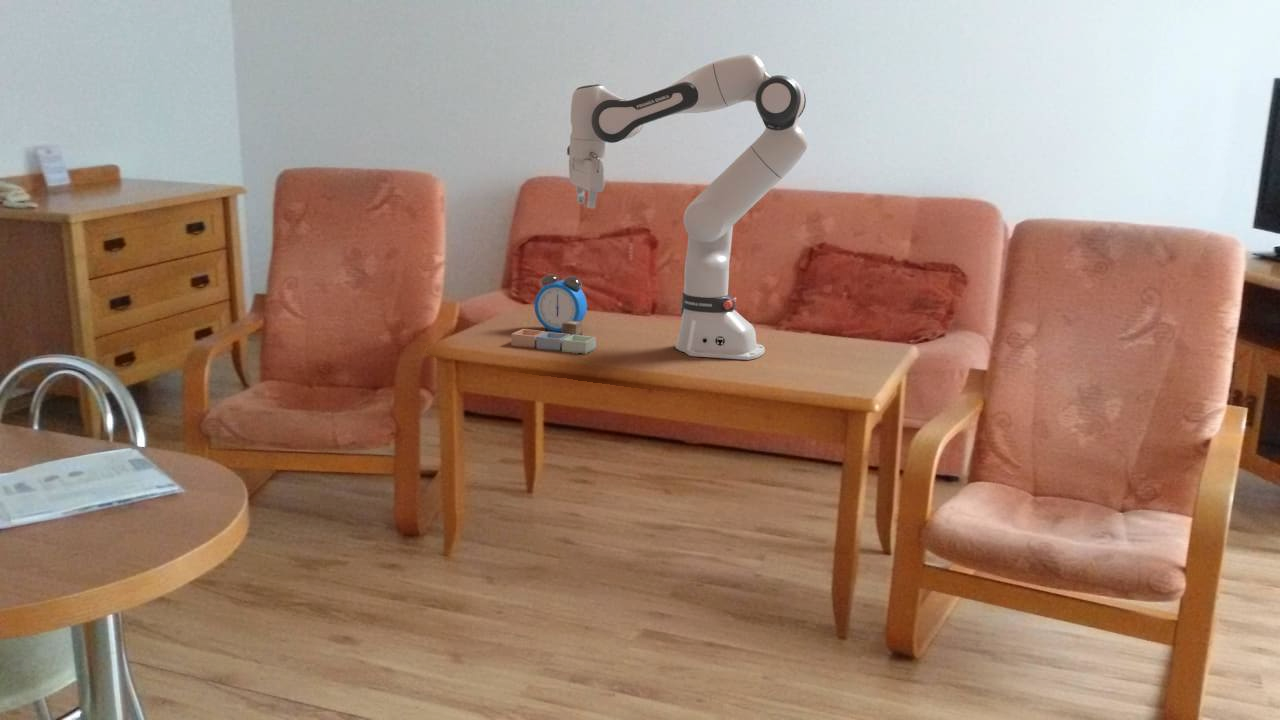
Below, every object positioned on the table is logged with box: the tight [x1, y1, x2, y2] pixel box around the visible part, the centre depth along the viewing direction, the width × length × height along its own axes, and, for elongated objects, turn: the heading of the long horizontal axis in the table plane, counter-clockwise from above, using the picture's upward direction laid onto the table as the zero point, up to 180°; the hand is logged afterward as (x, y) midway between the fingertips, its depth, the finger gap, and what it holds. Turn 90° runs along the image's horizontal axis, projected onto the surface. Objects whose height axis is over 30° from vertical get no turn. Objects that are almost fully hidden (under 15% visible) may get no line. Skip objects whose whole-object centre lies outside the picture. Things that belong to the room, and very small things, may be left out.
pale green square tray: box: [561, 335, 597, 355], centre depth 281 cm, size 6×6×3 cm
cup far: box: [511, 328, 547, 349], centre depth 286 cm, size 6×6×3 cm
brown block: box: [561, 320, 584, 336], centre depth 290 cm, size 4×4×5 cm
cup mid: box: [536, 331, 571, 352], centre depth 283 cm, size 6×6×3 cm
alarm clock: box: [533, 273, 588, 333], centre depth 300 cm, size 13×6×15 cm, turn 71°
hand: (586, 206), depth 286 cm, fingers open, 8 cm apart
